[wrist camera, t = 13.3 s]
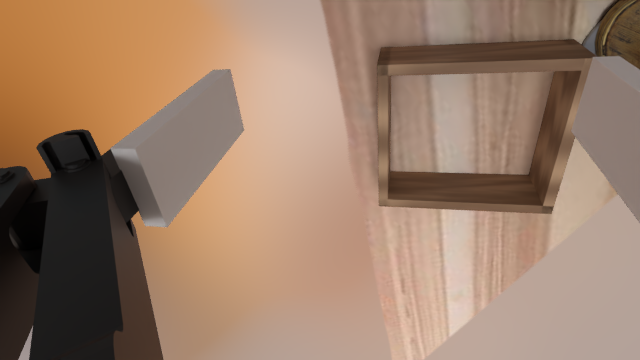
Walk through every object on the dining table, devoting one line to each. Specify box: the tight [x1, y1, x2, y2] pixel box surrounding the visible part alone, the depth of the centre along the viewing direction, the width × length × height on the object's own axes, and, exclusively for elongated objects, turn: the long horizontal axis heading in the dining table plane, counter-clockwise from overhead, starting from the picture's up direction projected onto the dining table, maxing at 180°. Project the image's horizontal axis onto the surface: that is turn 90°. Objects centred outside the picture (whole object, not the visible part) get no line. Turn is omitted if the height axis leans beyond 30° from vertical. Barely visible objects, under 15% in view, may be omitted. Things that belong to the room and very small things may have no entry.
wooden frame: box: [377, 39, 597, 214], centre depth 47 cm, size 19×21×7 cm
